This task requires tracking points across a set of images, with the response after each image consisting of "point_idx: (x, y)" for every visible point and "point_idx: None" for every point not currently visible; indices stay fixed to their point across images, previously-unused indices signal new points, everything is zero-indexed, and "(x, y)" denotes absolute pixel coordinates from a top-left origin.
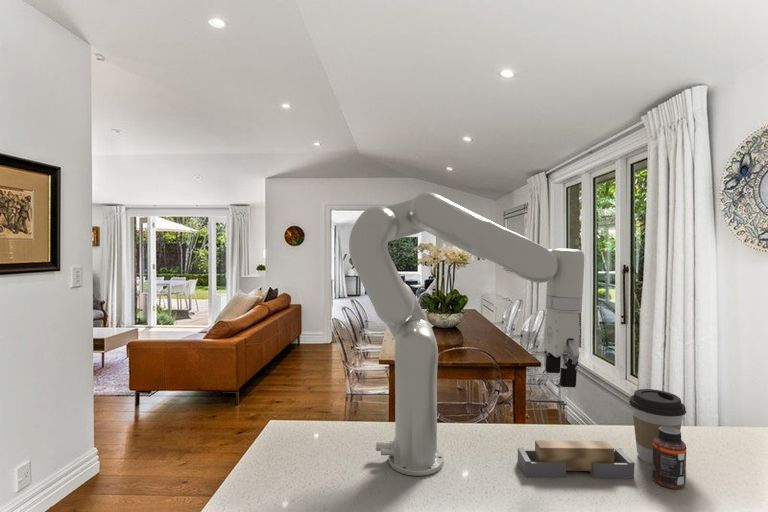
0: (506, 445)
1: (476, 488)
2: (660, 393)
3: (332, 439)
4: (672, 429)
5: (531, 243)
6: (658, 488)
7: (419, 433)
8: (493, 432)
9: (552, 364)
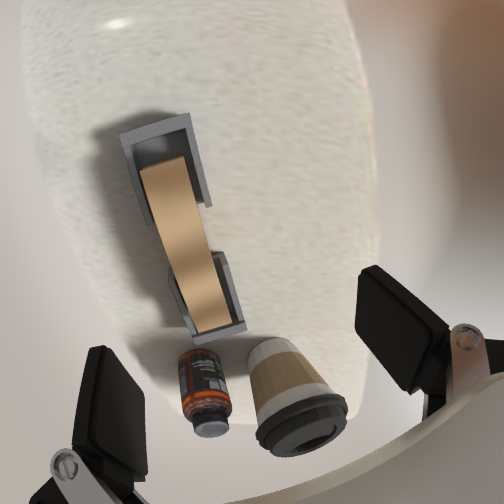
0: (268, 95)
1: (66, 56)
2: (328, 435)
3: None
4: (215, 432)
5: None
6: (174, 350)
7: None
8: (327, 75)
9: (387, 328)
